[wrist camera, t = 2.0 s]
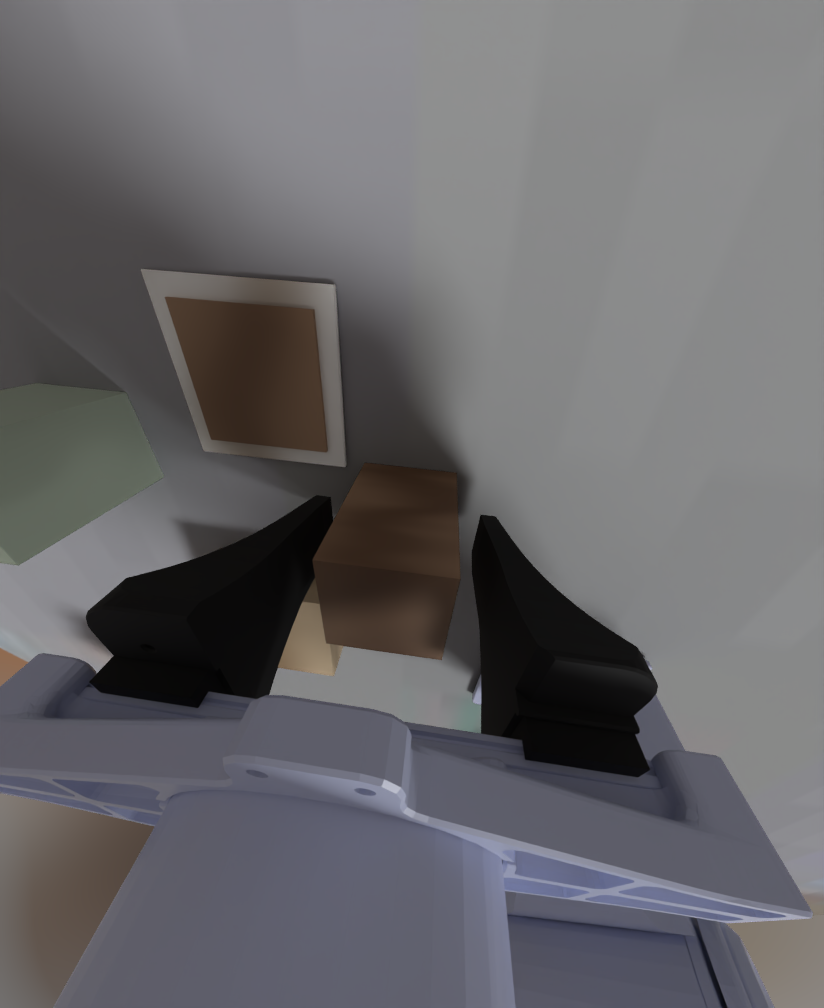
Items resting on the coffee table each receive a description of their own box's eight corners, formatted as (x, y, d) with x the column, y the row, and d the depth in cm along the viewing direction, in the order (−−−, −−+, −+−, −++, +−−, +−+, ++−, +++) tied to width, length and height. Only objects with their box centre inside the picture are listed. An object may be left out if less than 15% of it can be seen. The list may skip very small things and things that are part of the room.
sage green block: (126, 392, 12) (-89, 451, 7) (164, 476, 15) (18, 565, 10) (36, 382, 13) (-231, 434, 8) (87, 467, 15) (-94, 550, 10)
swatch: (335, 284, 10) (331, 284, 9) (346, 465, 13) (343, 469, 13) (145, 269, 10) (135, 268, 10) (206, 449, 13) (200, 453, 13)
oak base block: (343, 560, 17) (325, 604, 15) (347, 632, 21) (333, 676, 19) (224, 544, 17) (186, 584, 15) (250, 617, 21) (224, 659, 19)
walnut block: (456, 472, 13) (460, 579, 8) (444, 542, 15) (441, 660, 10) (364, 462, 13) (312, 560, 8) (366, 533, 15) (326, 643, 10)
